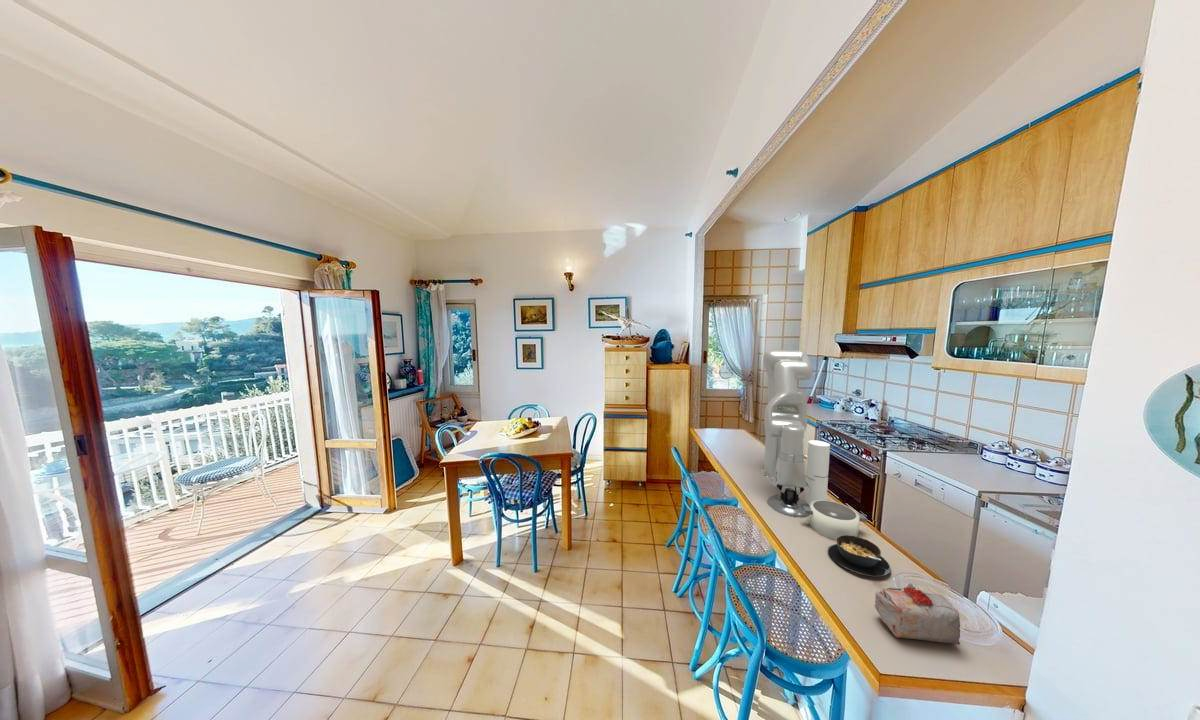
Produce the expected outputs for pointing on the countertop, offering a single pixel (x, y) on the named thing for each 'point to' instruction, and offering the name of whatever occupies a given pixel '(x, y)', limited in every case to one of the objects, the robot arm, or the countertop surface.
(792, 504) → the lid
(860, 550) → the soup bowl
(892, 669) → the countertop surface
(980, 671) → the countertop surface
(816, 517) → the pot
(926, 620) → the food item
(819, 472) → the cylindrical container
